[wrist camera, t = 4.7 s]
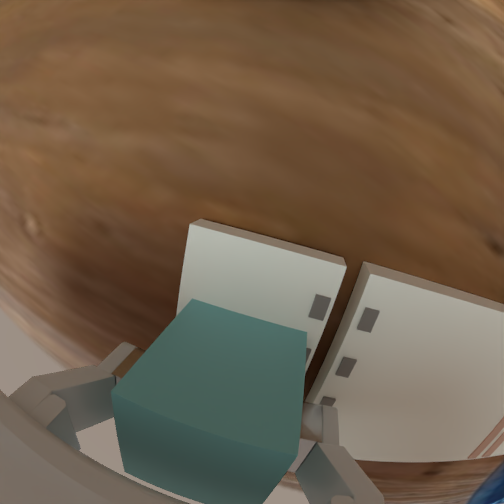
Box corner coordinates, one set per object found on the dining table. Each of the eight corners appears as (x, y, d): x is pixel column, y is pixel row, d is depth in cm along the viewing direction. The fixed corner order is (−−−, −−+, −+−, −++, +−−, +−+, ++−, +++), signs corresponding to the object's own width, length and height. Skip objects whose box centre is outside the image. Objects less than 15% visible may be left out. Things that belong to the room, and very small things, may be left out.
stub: (343, 257, 10) (380, 370, 4) (273, 430, 12) (250, 536, 7) (200, 218, 10) (84, 278, 4) (175, 399, 13) (119, 491, 7)
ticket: (576, 328, 8) (588, 339, 7) (502, 441, 11) (508, 454, 9) (363, 260, 10) (371, 274, 8) (289, 429, 12) (286, 450, 11)
